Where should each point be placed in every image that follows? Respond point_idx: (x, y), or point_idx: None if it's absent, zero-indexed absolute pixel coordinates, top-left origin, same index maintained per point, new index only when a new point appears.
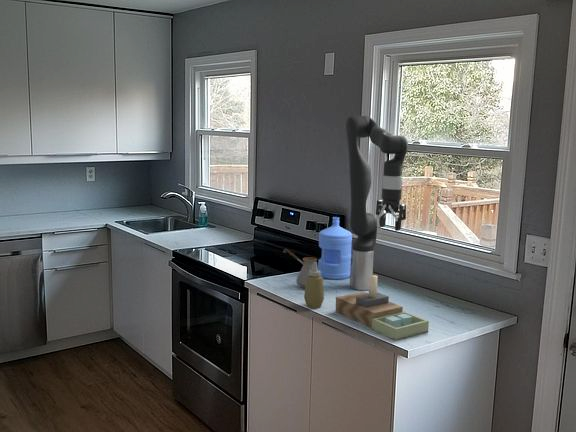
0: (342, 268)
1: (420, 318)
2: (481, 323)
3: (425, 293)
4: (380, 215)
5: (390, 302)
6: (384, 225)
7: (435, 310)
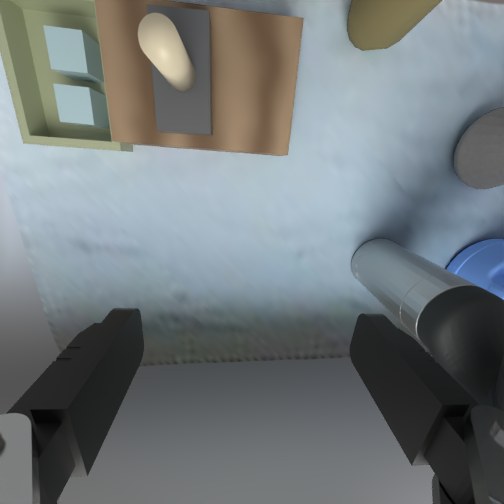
0: (469, 280)
1: (50, 140)
2: (52, 289)
3: (256, 338)
4: (502, 446)
5: (162, 141)
6: (354, 359)
7: (162, 275)
